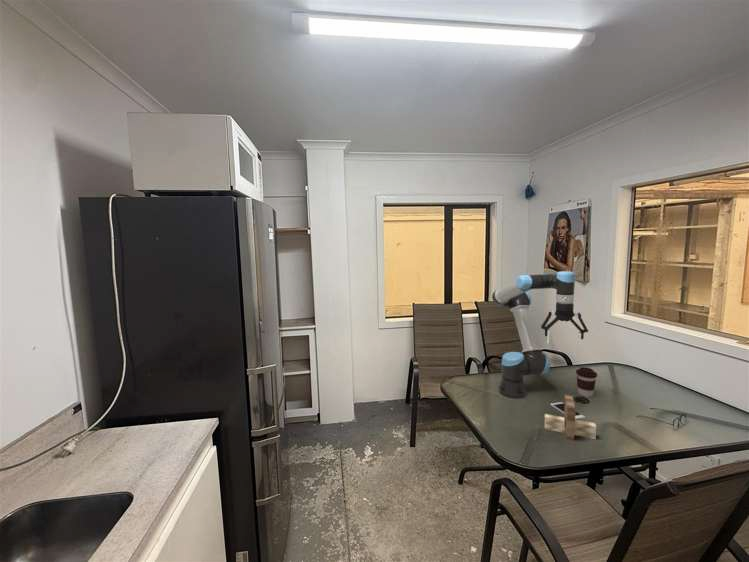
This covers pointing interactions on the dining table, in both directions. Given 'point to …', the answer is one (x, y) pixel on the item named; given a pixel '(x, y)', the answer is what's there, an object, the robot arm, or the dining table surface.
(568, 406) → the walnut cross plate
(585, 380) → the coffee cup
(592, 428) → the beech base plate
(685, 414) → the glasses
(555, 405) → the smartphone
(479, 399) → the dining table surface
